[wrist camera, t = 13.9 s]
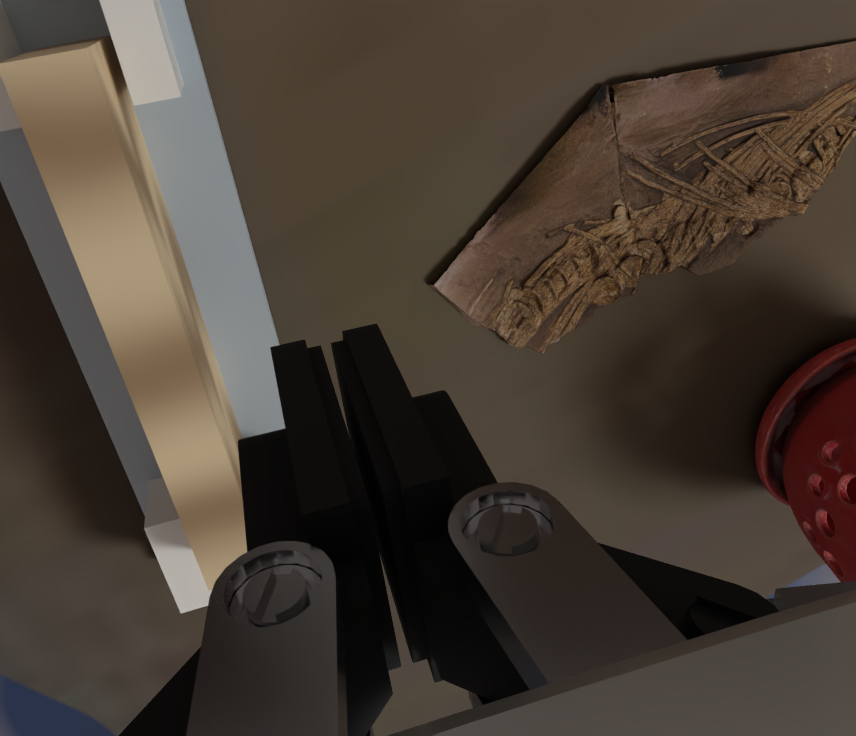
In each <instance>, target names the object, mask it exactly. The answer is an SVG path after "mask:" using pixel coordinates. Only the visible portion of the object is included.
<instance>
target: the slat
mask: <svg viewBox="0 0 856 736" xmlns="http://www.w3.org/2000/svg"><path fill="white" fill-rule="evenodd" d="M0 75H1V77H2V80H3V82H4V85H5V87H6V90H7V92H8V95H9V97H10V100H11V102H12V105H13V107H14V110H15V112H16V114H17V117H18V119H19V122H20V124H21V127H22V129H23V132H24V134H25V137H26V139H27V142H28V144H29V147H30V149H31V152H32V154H33V157H34V159H35V162H36V164H37V166H38V169H39V171H40V174H41V176H42V179H43V181H44V184H45V186H46V189H47V191H48V194H49V196H50V199H51V201H52V204H53V206H54V209H55V211H56V214H57V216H58V218H59V221H60V223H61V226H62V228H63V231H64V233H65V236H66V238H67V241H68V243H69V246H70V248H71V251H72V253H73V256H74V258H75V261H76V263H77V266H78V268H79V271H80V273H81V275H82V278H83V280H84V283H85V285H86V288H87V290H88V293H89V295H90V298H91V300H92V303H93V305H94V308H95V310H96V313H97V315H98V318H99V320H100V323H101V325H102V327H103V330H104V332H105V335H106V337H107V340H108V342H109V345H110V347H111V350H112V352H113V355H114V357H115V360H116V362H117V365H118V367H119V370H120V372H121V375H122V377H123V379H124V382H125V384H126V387H127V389H128V392H129V394H130V397H131V399H132V402H133V404H134V407H135V409H136V412H137V414H138V417H139V419H140V422H141V424H142V427H143V429H144V431H145V434H146V436H147V439H148V441H149V444H150V446H151V449H152V451H153V454H154V456H155V459H156V461H157V464H158V466H159V469H160V471H161V474H162V476H163V479H164V481H165V484H166V486H167V488H168V491H169V493H170V496H171V498H172V501H173V503H174V506H175V508H176V511H177V513H178V516H179V518H180V521H181V523H182V526H183V528H184V531H185V533H186V536H187V538H188V540H189V543H190V545H191V548H192V550H193V553H194V555H195V558H196V560H197V563H198V565H199V568H200V570H201V573H202V575H203V578H204V580H205V583H206V585H207V588H208V590H209V591H210V590H212V589H213V586H214V583H215V581H216V580H217V579H218V577H219V576H220V575H221V573H222V572H223V571H224V569H225V568H226V567H227V566H228V565H230V564H231V563H232V562H233V561H235V560H236V559H237V558H238V557H239V556H241V555H243V554H245V553H247V544H246V532H245V521H244V510H243V499H242V487H241V476H240V465H239V453H238V440H239V439H242V436H241V433H240V430H239V427H238V424H237V421H236V418H235V415H234V412H233V408H232V405H231V402H230V399H229V396H228V393H227V390H226V387H225V384H224V381H223V378H222V375H221V372H220V369H219V366H218V363H217V360H216V357H215V354H214V351H213V348H212V344H211V341H210V338H209V335H208V332H207V329H206V326H205V323H204V320H203V317H202V314H201V311H200V308H199V305H198V302H197V299H196V296H195V293H194V290H193V287H192V284H191V280H190V277H189V274H188V271H187V268H186V265H185V262H184V259H183V256H182V253H181V250H180V247H179V244H178V241H177V238H176V235H175V232H174V229H173V226H172V223H171V220H170V216H169V213H168V210H167V207H166V204H165V201H164V198H163V195H162V192H161V189H160V186H159V183H158V180H157V177H156V174H155V171H154V168H153V165H152V162H151V159H150V156H149V152H148V149H147V146H146V143H145V140H144V137H143V134H142V131H141V128H140V125H139V122H138V119H137V116H136V113H135V110H134V107H133V104H132V101H131V98H130V95H129V91H128V88H127V85H126V82H125V79H124V76H123V73H122V70H121V67H120V64H119V61H118V58H117V55H116V52H115V49H114V46H113V43H112V40H111V37H110V36H104V37H98V38H93V39H87V40H81V41H76V42H70V43H65V44H59V45H53V46H48V47H42V48H37V49H35V50H32V51H30V52H27V53H24V54H22V55H19V56H16V57H14V58H11V59H9V60H6V61H3V62H1V63H0Z"/></svg>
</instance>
